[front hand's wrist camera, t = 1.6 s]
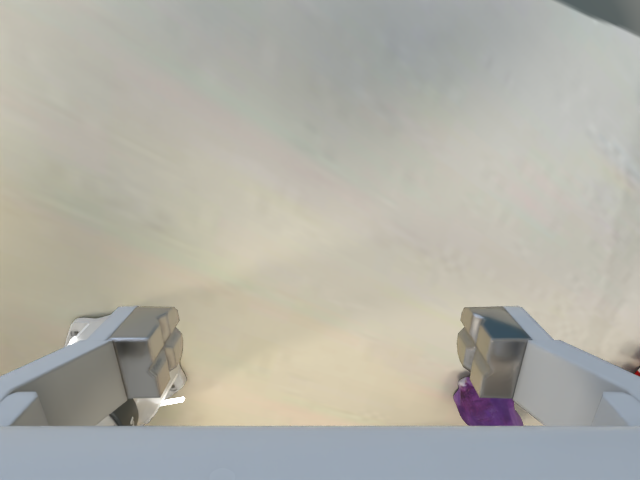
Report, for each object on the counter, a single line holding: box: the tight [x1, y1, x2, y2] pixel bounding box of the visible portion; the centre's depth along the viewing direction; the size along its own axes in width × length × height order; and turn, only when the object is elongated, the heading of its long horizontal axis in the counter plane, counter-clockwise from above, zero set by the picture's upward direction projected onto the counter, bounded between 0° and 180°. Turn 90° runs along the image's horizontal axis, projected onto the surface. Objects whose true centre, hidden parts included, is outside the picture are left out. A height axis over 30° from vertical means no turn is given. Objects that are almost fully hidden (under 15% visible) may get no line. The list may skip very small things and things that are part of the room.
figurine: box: [453, 377, 523, 426], centre depth 51 cm, size 9×10×15 cm
